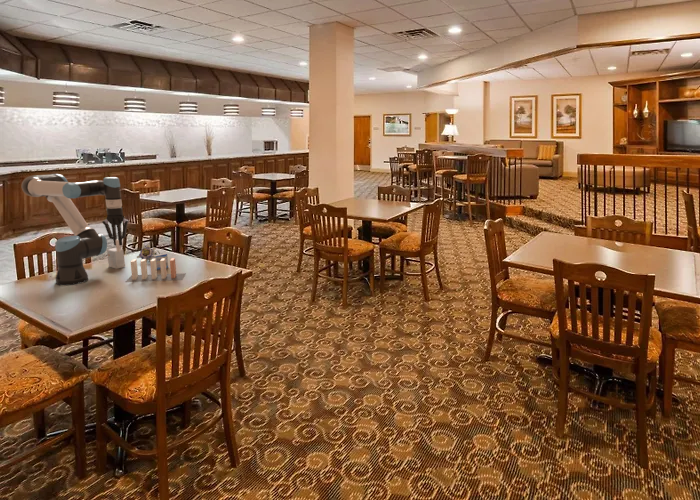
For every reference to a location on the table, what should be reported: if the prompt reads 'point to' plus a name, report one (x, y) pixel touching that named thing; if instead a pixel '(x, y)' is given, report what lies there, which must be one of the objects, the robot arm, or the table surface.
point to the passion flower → (147, 253)
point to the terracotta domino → (173, 268)
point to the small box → (115, 258)
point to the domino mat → (157, 278)
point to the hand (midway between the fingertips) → (118, 251)
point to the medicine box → (159, 257)
